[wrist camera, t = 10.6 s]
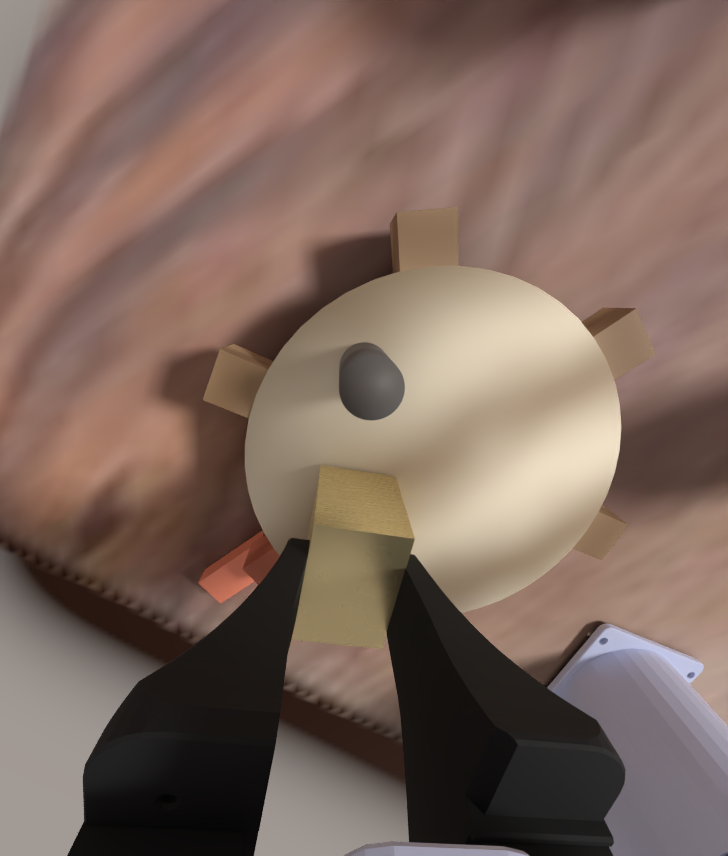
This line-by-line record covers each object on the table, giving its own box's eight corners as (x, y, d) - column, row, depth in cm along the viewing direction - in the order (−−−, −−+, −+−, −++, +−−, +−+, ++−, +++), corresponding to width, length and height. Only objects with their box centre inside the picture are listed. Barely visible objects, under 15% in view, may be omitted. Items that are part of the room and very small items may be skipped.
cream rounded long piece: (678, 476, 18) (814, 546, 13) (366, 658, 21) (375, 779, 15) (518, 124, 13) (634, 8, 8) (133, 421, 16) (30, 480, 10)
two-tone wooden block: (395, 476, 15) (415, 539, 11) (372, 566, 16) (382, 649, 12) (320, 464, 14) (313, 524, 11) (303, 557, 16) (292, 640, 12)
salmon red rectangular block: (265, 528, 19) (261, 540, 18) (285, 549, 19) (283, 562, 18) (205, 569, 19) (197, 583, 18) (226, 589, 20) (220, 603, 19)
